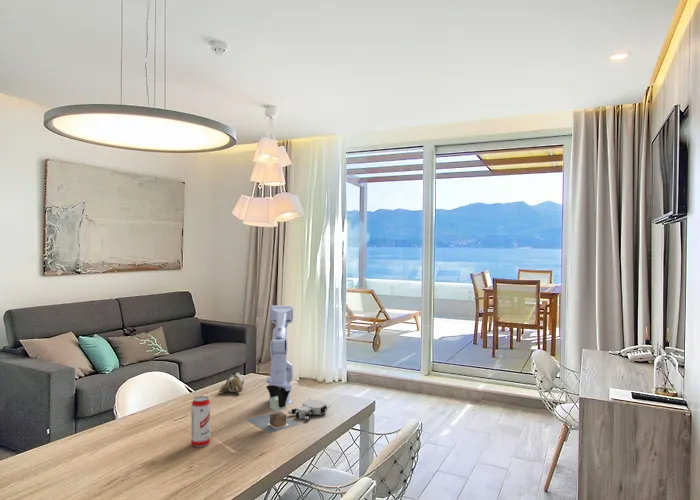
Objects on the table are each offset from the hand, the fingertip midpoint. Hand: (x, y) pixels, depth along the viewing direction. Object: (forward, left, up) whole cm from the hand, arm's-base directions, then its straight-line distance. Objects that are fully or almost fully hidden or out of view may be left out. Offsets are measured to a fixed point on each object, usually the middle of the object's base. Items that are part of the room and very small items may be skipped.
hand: (278, 405), depth 181 cm
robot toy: (-1, +16, -8) cm, 18 cm away
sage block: (0, 0, -1) cm, 1 cm away
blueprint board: (-4, 0, -8) cm, 9 cm away
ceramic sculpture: (-51, +8, -8) cm, 52 cm away
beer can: (-3, -30, -8) cm, 31 cm away
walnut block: (0, 0, -7) cm, 7 cm away
